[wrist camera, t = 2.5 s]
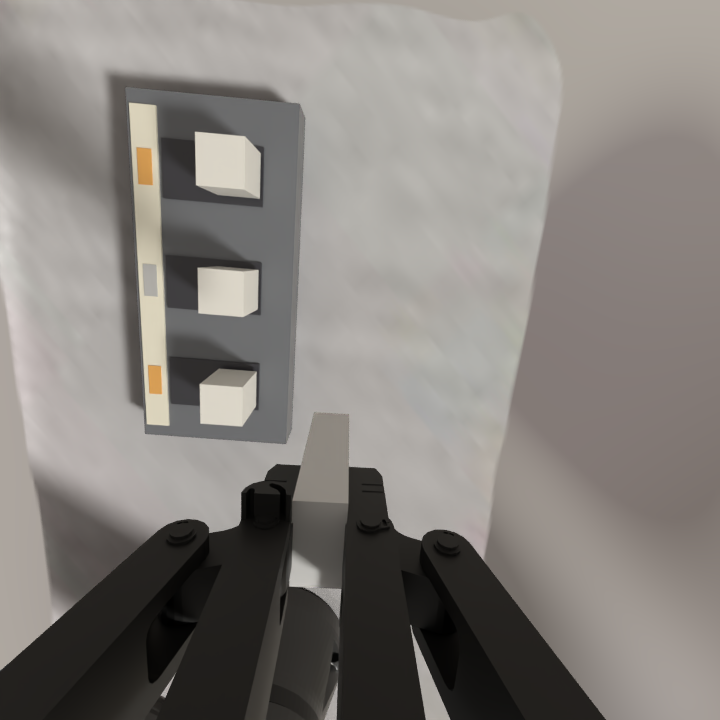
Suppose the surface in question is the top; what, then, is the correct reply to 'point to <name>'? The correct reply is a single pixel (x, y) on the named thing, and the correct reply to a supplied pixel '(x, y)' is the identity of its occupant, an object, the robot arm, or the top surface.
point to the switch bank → (214, 258)
